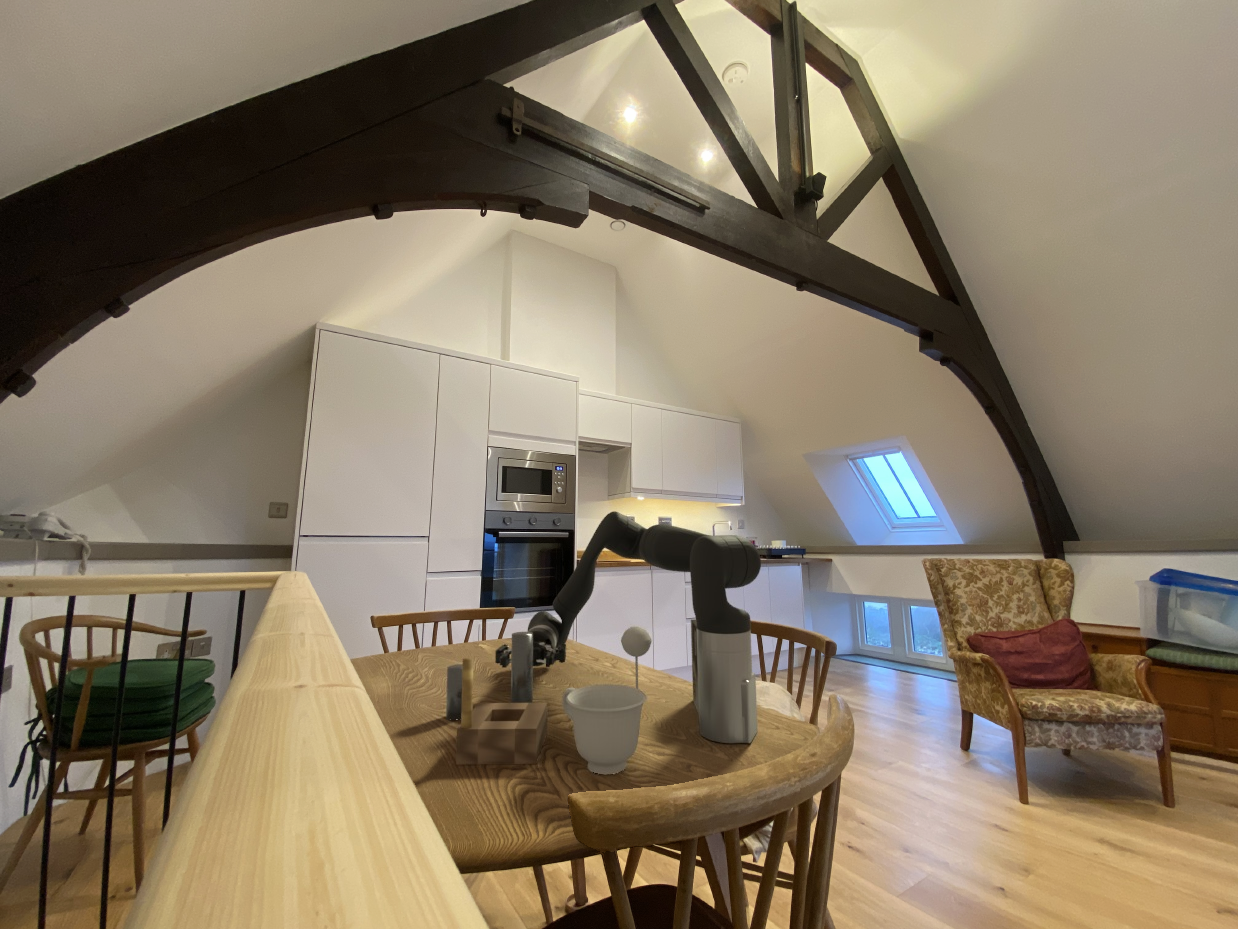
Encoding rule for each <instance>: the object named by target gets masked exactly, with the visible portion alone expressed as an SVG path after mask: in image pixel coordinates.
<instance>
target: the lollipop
mask: <svg viewBox="0 0 1238 929" xmlns="http://www.w3.org/2000/svg"><path fill="white" fill-rule="evenodd" d="M652 641H653V640H652V637H651V635H650V633H649V632H648V631H647V629H645V628H644V627H642V626H639V625H633V626H629V627H628V628H626V629H625V631H624V632H623V634H622V636H621V639H620V642H621V646H622V649H623V651H624V652H625V653H627V655H629V656H630V657H635V658H634V659H635V661H634V662H635V665H634V666H635V688H637V689H639V671H638V670H639V666H638V665H639V662H638V661H639V659H638V657H642V656H644V655H646V654H647V653H648V651H649V650H650V648H651V645H652Z"/></svg>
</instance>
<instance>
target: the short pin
mask: <svg viewBox="0 0 1238 929" xmlns="http://www.w3.org/2000/svg"><path fill="white" fill-rule="evenodd" d="M462 665H463V663H459V664H457V663H456V664H451V665H449V666H447V669H446V670H447V671H446V703H445V704H446V705H445V706H446V708H445V714H446V716H445V719H446V718H447V719H451V720H456V719H461V711H462ZM447 719H446V720H447ZM451 720H450V721H451Z"/></svg>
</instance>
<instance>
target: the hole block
mask: <svg viewBox="0 0 1238 929" xmlns="http://www.w3.org/2000/svg"><path fill="white" fill-rule="evenodd" d="M462 664H463V665H462V711H461V720H460V721H461V722H460V725H459V726H458V728H456V743H455V744H456V746H455V748H456V750H455V752H456V753H455V765H533V764H534V765H537V763H538V760H539V757H540V754H541V751H542V750H543V747H542V746H544V744H545V741H546V738H547V735H548V702H533V703H511V702H479V703H478V702H477V704H476V705H475V706H474V708H473V703H474V702H473V700H474V699H473V698H474V696H473V694H474V693H473V691H474V684H473V683H474V658H473V657H465V658H462ZM544 740H545V741H544ZM543 743H544V744H543Z"/></svg>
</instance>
